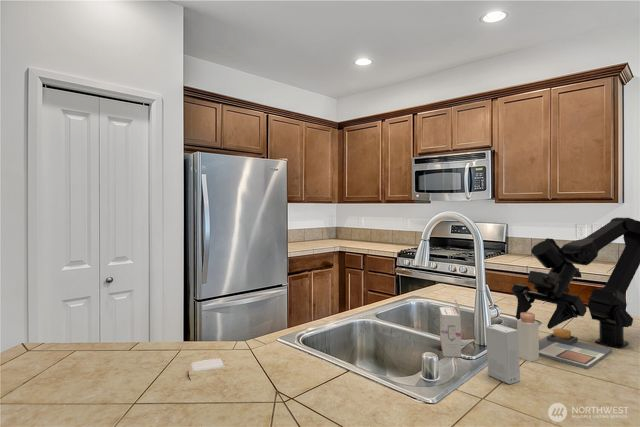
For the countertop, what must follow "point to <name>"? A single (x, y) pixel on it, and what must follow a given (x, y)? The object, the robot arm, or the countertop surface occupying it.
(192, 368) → the soap
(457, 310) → the ink cartridge box
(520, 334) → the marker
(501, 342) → the skincare box
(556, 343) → the grey flat board
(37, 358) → the countertop surface
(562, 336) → the button
